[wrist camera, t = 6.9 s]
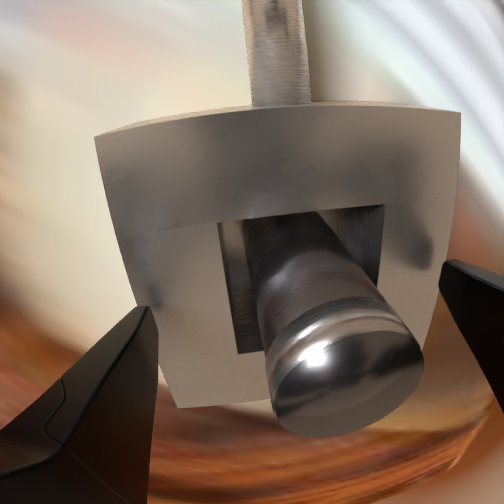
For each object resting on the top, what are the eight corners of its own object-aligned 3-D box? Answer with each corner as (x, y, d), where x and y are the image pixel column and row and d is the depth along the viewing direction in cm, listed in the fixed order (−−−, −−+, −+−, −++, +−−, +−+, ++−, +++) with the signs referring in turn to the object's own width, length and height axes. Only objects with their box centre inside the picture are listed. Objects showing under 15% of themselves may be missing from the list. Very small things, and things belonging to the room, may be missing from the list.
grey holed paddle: (377, 305, 16) (417, 364, 12) (183, 334, 15) (178, 407, 11) (360, -91, 7) (406, -134, 3) (123, -85, 6) (93, -137, 2)
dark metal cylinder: (322, 263, 14) (405, 417, 7) (245, 273, 14) (276, 449, 6) (322, 189, 12) (443, 318, 5) (236, 198, 12) (268, 356, 5)
